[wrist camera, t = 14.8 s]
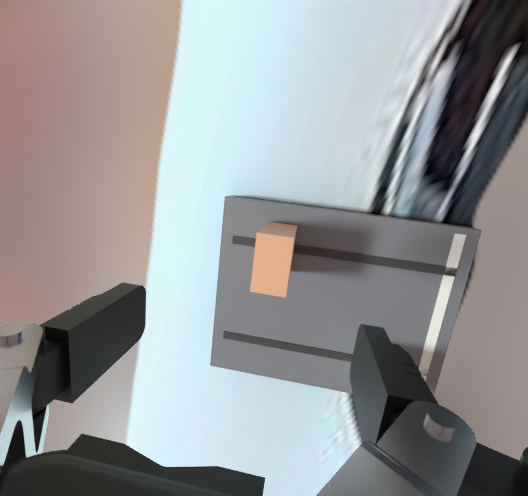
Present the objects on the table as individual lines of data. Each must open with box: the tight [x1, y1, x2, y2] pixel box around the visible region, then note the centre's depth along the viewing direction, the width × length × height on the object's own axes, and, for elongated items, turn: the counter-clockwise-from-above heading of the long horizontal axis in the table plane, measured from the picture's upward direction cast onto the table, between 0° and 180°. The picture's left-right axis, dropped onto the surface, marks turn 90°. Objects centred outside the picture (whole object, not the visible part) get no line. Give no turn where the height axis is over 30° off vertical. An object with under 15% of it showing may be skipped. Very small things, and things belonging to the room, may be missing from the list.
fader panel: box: [210, 196, 481, 395], centre depth 26 cm, size 20×16×2 cm
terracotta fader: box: [250, 222, 297, 298], centre depth 22 cm, size 2×4×6 cm, turn 173°
